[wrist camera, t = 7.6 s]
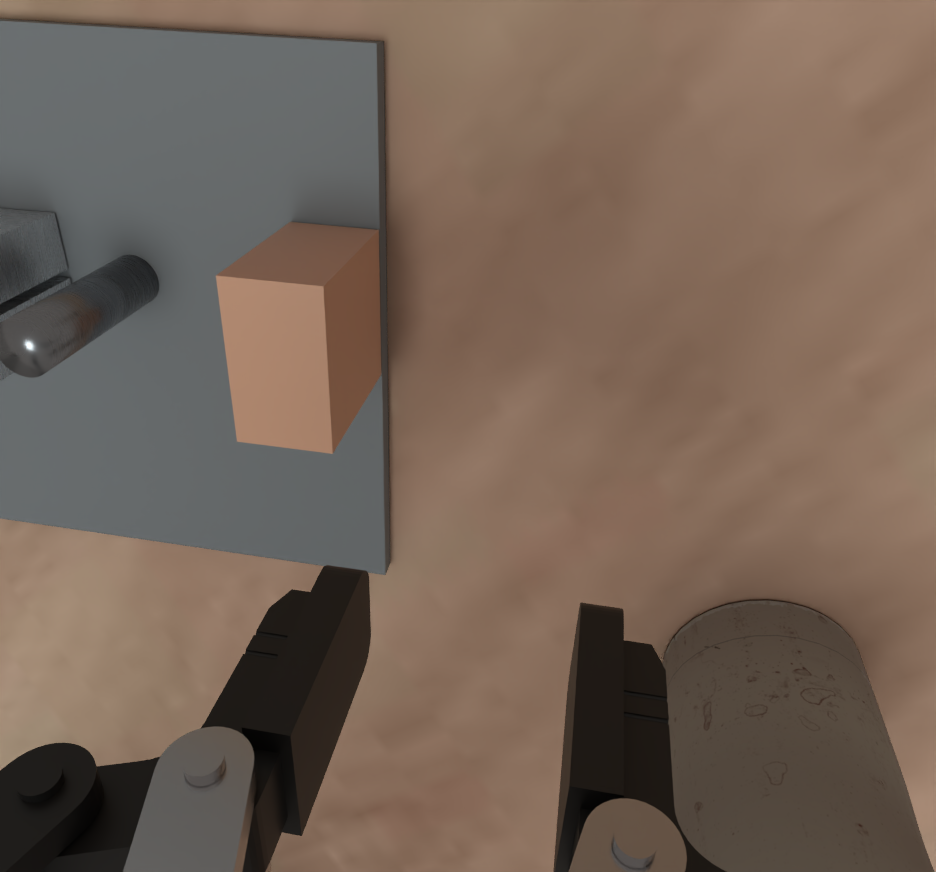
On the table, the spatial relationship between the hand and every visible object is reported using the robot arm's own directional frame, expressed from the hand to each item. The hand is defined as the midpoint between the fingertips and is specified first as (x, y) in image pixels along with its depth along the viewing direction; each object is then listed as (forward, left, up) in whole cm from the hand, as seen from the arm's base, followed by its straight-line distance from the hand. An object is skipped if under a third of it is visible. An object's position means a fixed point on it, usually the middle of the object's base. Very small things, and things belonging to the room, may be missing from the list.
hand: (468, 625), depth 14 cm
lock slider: (0, +7, -14) cm, 16 cm away
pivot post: (0, +15, -15) cm, 21 cm away
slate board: (-2, +18, -15) cm, 23 cm away
